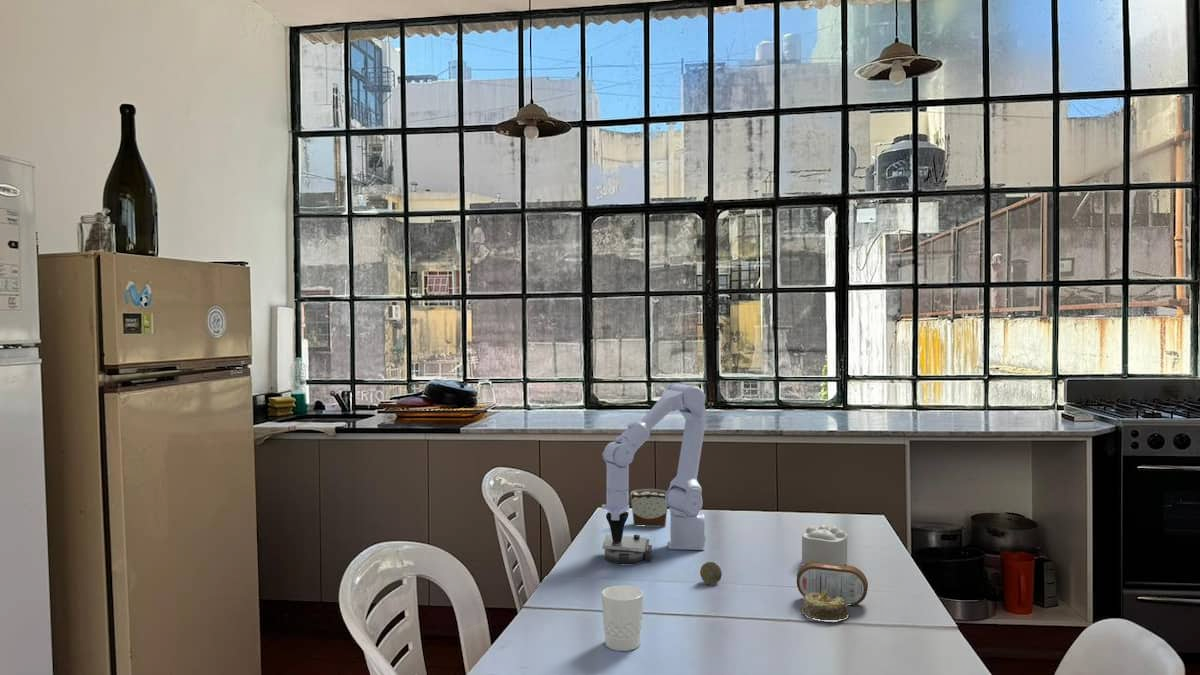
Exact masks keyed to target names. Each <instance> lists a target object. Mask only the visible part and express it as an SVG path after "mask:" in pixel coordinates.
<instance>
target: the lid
mask: <svg viewBox="0 0 1200 675" xmlns="http://www.w3.org/2000/svg"><path fill="white" fill-rule="evenodd" d="M649 545H650V539H649V538H648V537H643V536H640V534H634V535H633V536H632V535H629V536H628V535H623V536H622V540H621V542H613V539H612V534H605V537H604V540H603V543H602V550H603V549H604V550H605V549H613V550H625V551H638V552H645V550H646V551H648V549H649Z"/></svg>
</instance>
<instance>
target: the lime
mask: <svg viewBox="0 0 1200 675" xmlns="http://www.w3.org/2000/svg"><path fill="white" fill-rule="evenodd" d="M699 574H700V577H701V579H702V581H703V582H704V583H705V584H706V585H708V586H712V585H717V583H719V582H720V581H721V579H722V575H723V574H722V568H721V567H720V566H719V565H718V564H717V563H715V562H714V561H706V562H705V563H704V564H702V566H701V568H700V571H699Z"/></svg>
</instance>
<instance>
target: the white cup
mask: <svg viewBox="0 0 1200 675" xmlns="http://www.w3.org/2000/svg"><path fill="white" fill-rule="evenodd" d="M601 596H602V597H601V598H602V599H601V601H602V618H603V622H602V623H603V632H604V643H605V646H606V647H607V648H608V649H610V650H612V651H617V652H628V651H633V650H635V649H638V648H639V647H640V645H641V636H642V635H641V632H642V631H641V630H642V628H643V627H642V624H643V622H642V621H643V605H644V603H643V602H644V591H643V590H642V589H640V588H638V587H635V586H631V585H614V586H610V587H606V588H604V589H603V590H602V591H601Z"/></svg>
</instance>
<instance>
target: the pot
mask: <svg viewBox="0 0 1200 675" xmlns="http://www.w3.org/2000/svg"><path fill="white" fill-rule="evenodd" d="M652 558H653V545H652V544H649V549H648V551H646V550H645V552H638V551H625V550H613V549H604V560H605V561H606V562H608V563H611V564H615V565H621V564H632V565H639V564H641V563H644V562H646V563H648V562H649V563H651V562H652ZM638 563H639V564H638Z"/></svg>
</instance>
